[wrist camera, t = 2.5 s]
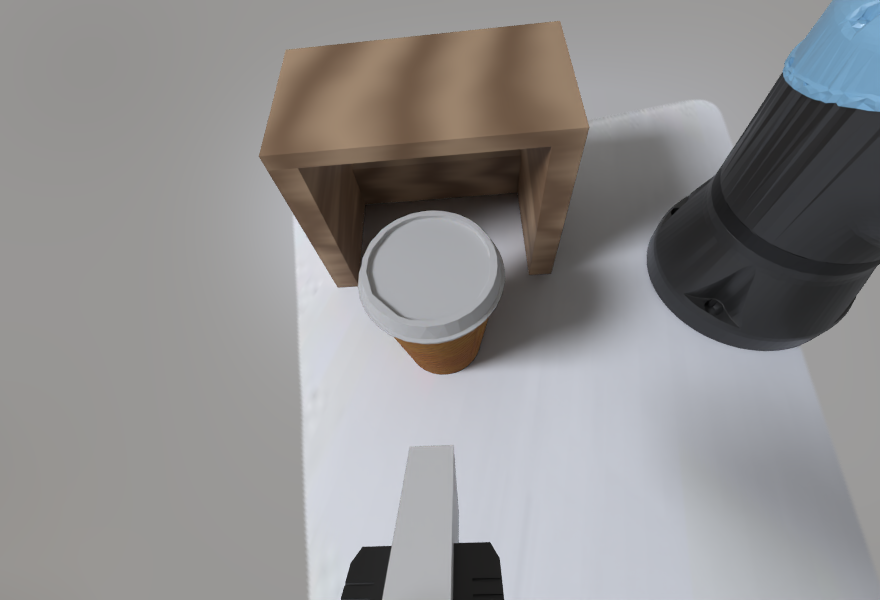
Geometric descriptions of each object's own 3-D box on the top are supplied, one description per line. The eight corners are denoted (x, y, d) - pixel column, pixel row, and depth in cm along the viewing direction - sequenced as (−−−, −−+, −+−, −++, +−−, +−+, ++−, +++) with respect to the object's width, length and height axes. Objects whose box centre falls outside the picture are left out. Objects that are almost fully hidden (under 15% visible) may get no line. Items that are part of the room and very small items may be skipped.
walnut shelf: (535, 183, 44) (560, 20, 30) (550, 273, 39) (589, 127, 25) (347, 198, 46) (285, 49, 32) (337, 287, 40) (258, 156, 26)
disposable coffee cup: (379, 310, 39) (340, 229, 28) (477, 279, 40) (475, 188, 29) (405, 409, 34) (370, 356, 24) (516, 372, 35) (530, 305, 24)
